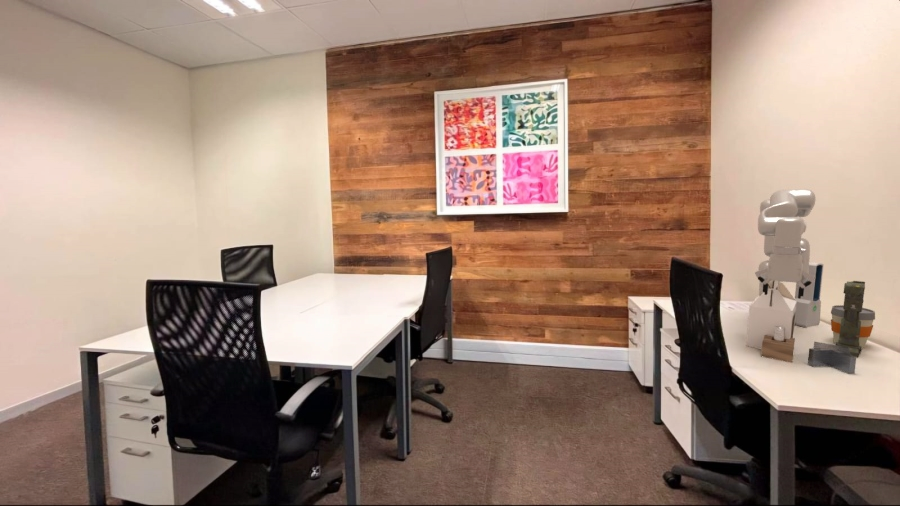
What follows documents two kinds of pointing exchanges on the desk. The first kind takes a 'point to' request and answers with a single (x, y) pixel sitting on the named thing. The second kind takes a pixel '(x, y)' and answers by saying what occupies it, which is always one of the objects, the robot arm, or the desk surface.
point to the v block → (832, 357)
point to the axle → (779, 333)
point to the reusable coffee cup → (864, 317)
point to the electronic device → (810, 299)
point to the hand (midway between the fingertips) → (782, 296)
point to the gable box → (771, 314)
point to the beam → (778, 348)
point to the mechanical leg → (852, 317)
